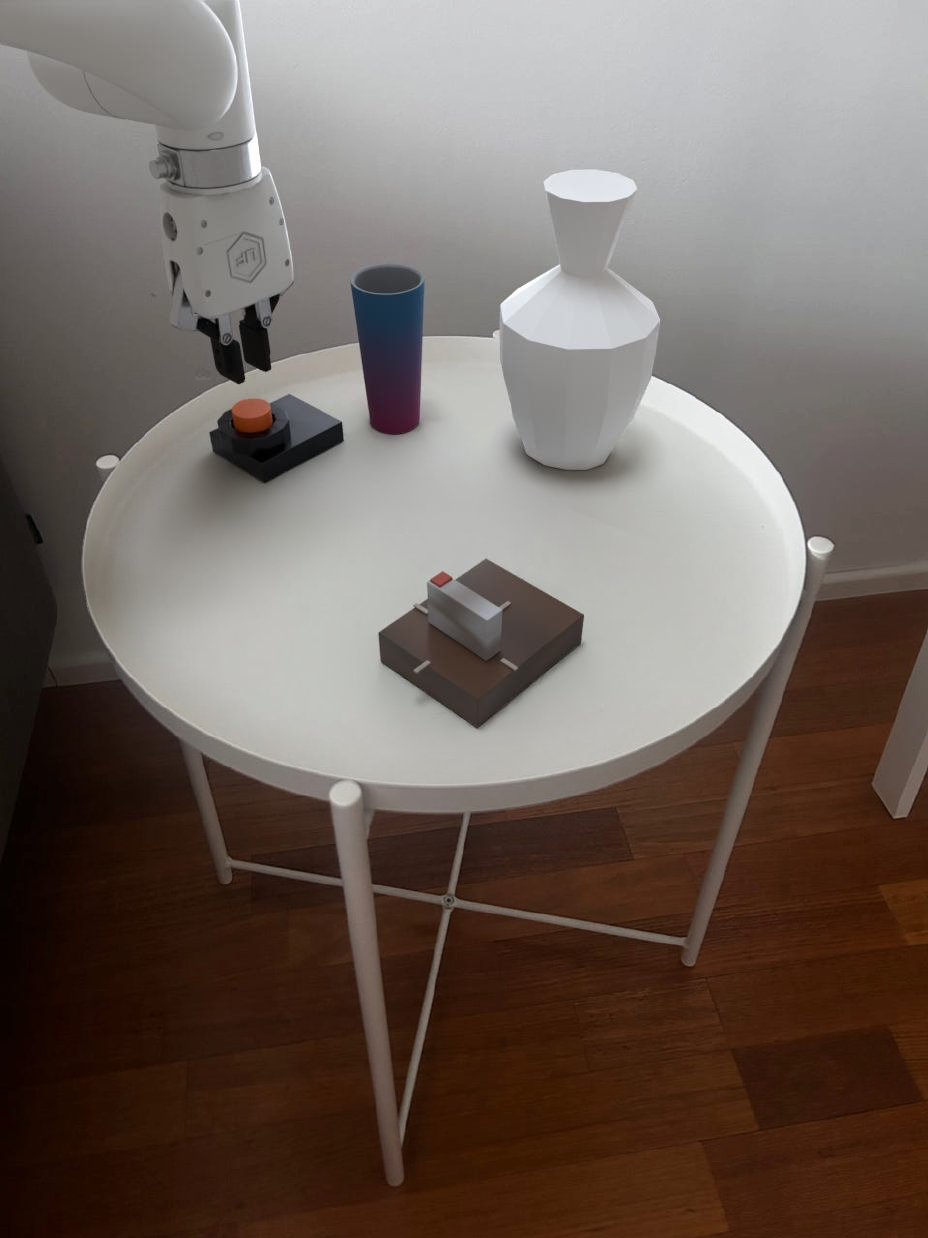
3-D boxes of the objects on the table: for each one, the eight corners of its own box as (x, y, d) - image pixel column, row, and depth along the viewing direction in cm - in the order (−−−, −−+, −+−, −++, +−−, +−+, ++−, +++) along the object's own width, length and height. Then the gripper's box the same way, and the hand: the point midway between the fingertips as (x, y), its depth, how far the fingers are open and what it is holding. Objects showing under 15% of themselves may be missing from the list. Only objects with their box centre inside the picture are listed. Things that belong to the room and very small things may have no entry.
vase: (465, 450, 98) (466, 186, 81) (555, 396, 106) (573, 144, 89) (581, 509, 91) (609, 233, 74) (669, 445, 99) (712, 183, 82)
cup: (438, 431, 101) (435, 287, 91) (373, 444, 99) (363, 299, 89) (415, 398, 106) (410, 258, 96) (352, 411, 104) (341, 269, 94)
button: (250, 438, 93) (247, 422, 92) (226, 424, 95) (223, 408, 94) (280, 423, 95) (278, 407, 94) (256, 410, 97) (254, 394, 96)
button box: (258, 486, 94) (252, 450, 91) (206, 454, 98) (198, 418, 95) (344, 441, 100) (341, 405, 97) (291, 412, 104) (287, 377, 101)
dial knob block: (467, 738, 71) (468, 707, 69) (368, 668, 76) (365, 637, 74) (582, 643, 78) (585, 613, 76) (484, 585, 83) (485, 555, 81)
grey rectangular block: (501, 650, 73) (503, 606, 70) (486, 661, 72) (487, 617, 69) (443, 612, 76) (442, 568, 73) (427, 622, 75) (426, 578, 73)
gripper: (152, 199, 73) (197, 421, 85) (320, 146, 82) (339, 354, 94) (95, 174, 77) (146, 390, 89) (261, 126, 85) (287, 329, 98)
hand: (245, 370), depth 91 cm, fingers closed
